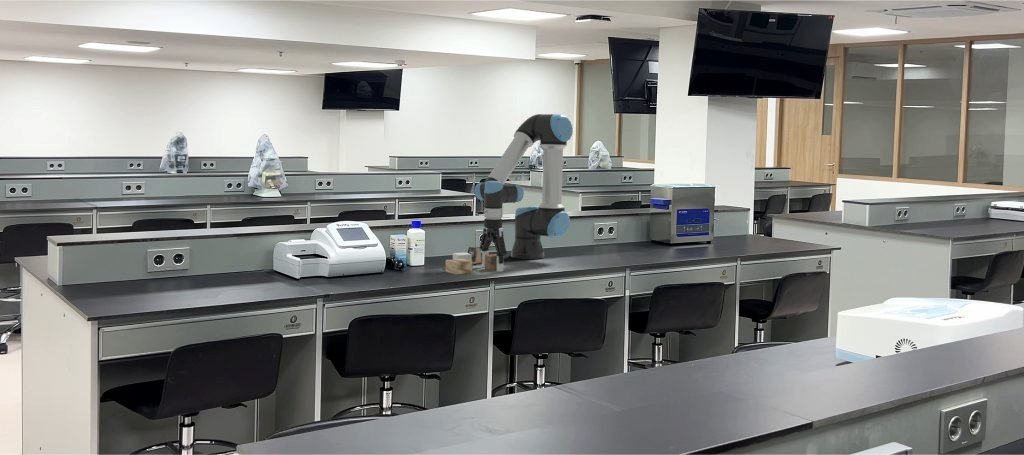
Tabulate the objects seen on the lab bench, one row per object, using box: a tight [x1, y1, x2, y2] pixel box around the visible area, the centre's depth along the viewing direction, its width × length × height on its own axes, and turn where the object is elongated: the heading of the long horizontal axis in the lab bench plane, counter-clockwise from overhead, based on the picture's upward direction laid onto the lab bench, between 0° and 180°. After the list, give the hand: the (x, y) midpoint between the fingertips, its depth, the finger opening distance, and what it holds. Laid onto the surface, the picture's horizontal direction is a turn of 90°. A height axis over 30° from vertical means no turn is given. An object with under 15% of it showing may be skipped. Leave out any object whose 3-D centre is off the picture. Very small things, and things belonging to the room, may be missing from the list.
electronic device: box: [467, 246, 482, 266], centre depth 403 cm, size 4×10×8 cm, turn 161°
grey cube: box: [452, 252, 472, 261], centre depth 393 cm, size 6×6×6 cm
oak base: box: [445, 258, 473, 275], centre depth 381 cm, size 8×8×5 cm
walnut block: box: [484, 253, 497, 271], centre depth 390 cm, size 5×5×6 cm
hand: (492, 268), depth 390 cm, fingers open, 13 cm apart
